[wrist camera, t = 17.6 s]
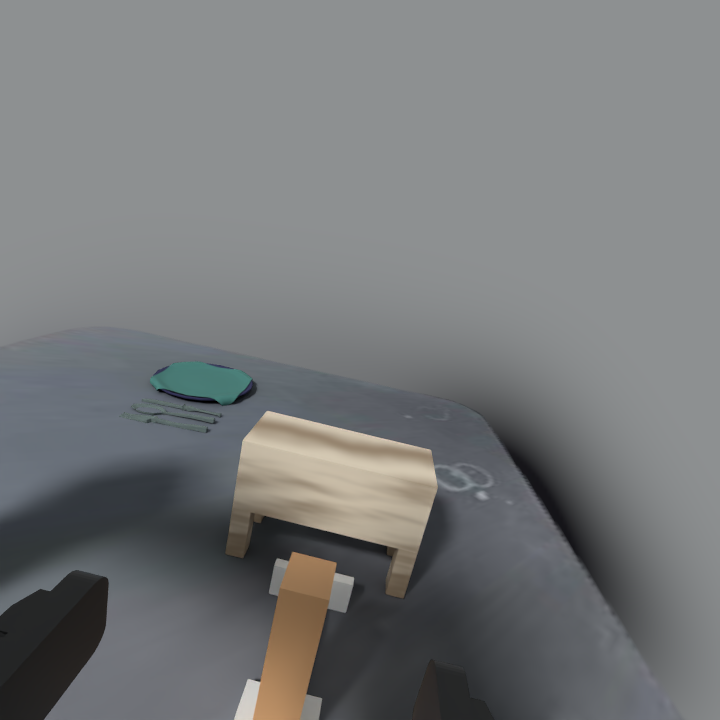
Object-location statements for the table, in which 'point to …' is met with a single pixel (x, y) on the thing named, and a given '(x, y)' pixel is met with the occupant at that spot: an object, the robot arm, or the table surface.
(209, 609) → the table surface
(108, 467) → the table surface
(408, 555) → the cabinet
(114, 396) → the table surface
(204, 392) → the cutlery set
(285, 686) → the orange post on base
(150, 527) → the table surface
